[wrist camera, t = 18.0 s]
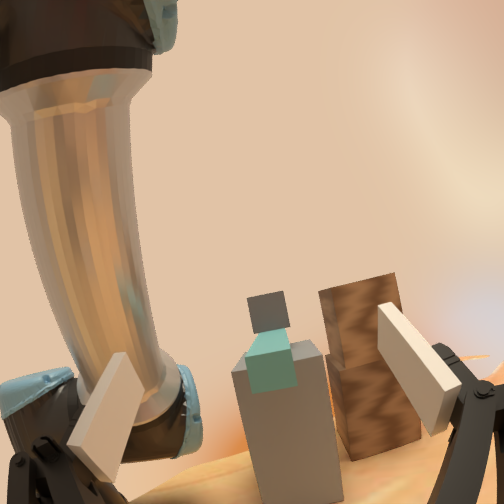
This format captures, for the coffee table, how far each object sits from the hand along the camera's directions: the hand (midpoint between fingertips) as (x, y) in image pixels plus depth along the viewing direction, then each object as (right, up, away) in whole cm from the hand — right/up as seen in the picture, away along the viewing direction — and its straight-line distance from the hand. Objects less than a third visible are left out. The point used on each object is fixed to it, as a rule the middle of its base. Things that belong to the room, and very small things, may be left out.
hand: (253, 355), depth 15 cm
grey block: (+7, -28, +20) cm, 35 cm away
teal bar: (+3, -7, +19) cm, 20 cm away
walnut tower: (+22, -27, +29) cm, 45 cm away
